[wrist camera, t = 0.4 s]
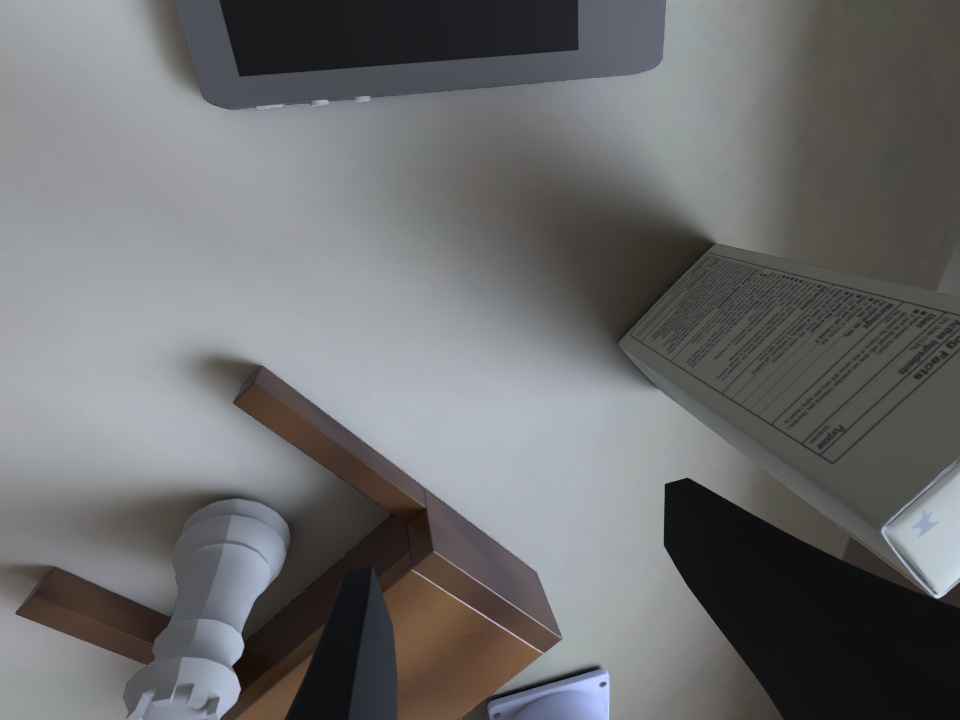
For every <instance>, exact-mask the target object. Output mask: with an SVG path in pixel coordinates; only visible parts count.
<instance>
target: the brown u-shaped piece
mask: <svg viewBox="0 0 960 720" xmlns="http://www.w3.org/2000/svg"><path fill="white" fill-rule="evenodd" d="M233 404H235V405H236V406H237V407H239V408H240V409H242V410H243V411H245V412H246V413H248V414H249V415H250V416H252V417H253V418H255V419H256V420H258V421H259V422H261V423H262V424H263V425H265V426H266V427H268V428H269V429H271V430H272V431H274V432H275V433H276V434H278V435H279V436H281V437H282V438H284V439H285V440H287V441H288V442H289V443H291V444H292V445H294V446H295V447H297V448H298V449H300V450H301V451H302V452H304V453H305V454H307V455H308V456H310V457H311V458H313V459H314V460H315V461H317V462H318V463H320V464H321V465H323V466H324V467H326V468H327V469H328V470H330V471H331V472H333V473H334V474H336V475H337V476H339V477H340V478H341V479H343V480H344V481H346V482H347V483H349V484H350V485H352V486H353V487H355V488H356V489H357V490H359V491H360V492H362V493H363V494H365V495H366V496H368V497H369V498H370V499H372V500H373V501H375V502H376V503H378V504H379V505H381V506H382V507H383V508H385V509H386V510H388V511H389V512H391V513H392V515H391V516H390V517H389V518H388V519H386V520H385V521H384V522H383V523H382V524H381V525H379V526H378V527H377V528H376V529H375V530H374V531H373V532H371V533H370V534H369V535H368V536H367V537H366V538H365V539H363V540H362V541H361V542H360V543H359V544H358V545H357V546H355V547H354V548H353V549H352V550H351V551H350V552H349V553H347V554H346V555H345V556H344V557H343V558H342V559H341V560H339V561H338V562H337V563H336V564H335V565H334V566H333V567H331V568H330V569H329V570H328V571H327V572H326V573H325V574H323V575H322V576H321V577H320V578H319V579H318V580H317V581H315V582H314V583H313V584H312V585H311V586H310V587H309V588H307V589H306V590H305V591H304V592H303V593H302V594H300V595H299V596H298V597H297V598H296V599H295V600H294V601H292V602H291V603H290V604H289V605H288V606H287V607H286V608H284V609H283V610H282V611H281V612H280V613H279V614H278V615H276V616H275V617H274V618H273V619H272V620H271V621H270V622H268V623H267V624H266V625H265V626H264V627H263V628H262V629H260V630H259V631H258V632H257V633H256V634H255V635H254V636H252V637H251V638H250V639H249V640H248V641H247V642H246V643H244V649H243V652H242V655H241V657H240V658H239V659H238V660H237V661H236V662H235V663H234V664H233V665H232V668H233V670H234V672H235V673H236V675H237V678H238V681H239V684H240V687H241V690H240V693H239V696H238V699H237V702H236V703H235V704H234V705H233V706H232V707H231V708H230V709H229V710H228V711H227V712H226V713H225V714H224V715H223V716H221V718H220V720H284V719H285V717H286V715H287V713H288V710H289V708H290V706H291V704H292V702H293V700H294V697H295V695H296V693H297V691H298V689H299V687H300V685H301V682H302V680H303V678H304V676H305V673H306V671H307V669H308V666H309V664H310V661H311V659H312V656H313V654H314V652H315V649H316V647H317V644H318V642H319V639H320V637H321V634H322V632H323V629H324V627H325V624H326V621H327V619H328V616H329V613H330V610H331V608H332V605H333V602H334V599H335V596H336V593H337V590H338V587H339V584H340V581H341V577H342V576H343V574H344V573H345V572H347V571H351V570H354V569H358V568H361V567H365V566H369V565H373V568H374V571H375V574H376V577H377V580H378V583H379V586H380V589H381V592H382V594H383V597H384V600H385V603H386V606H387V609H388V612H389V615H390V618H391V621H392V624H393V631H394V641H395V651H396V663H397V720H459V719H460V718H462V717H463V716H464V715H465V714H467V713H468V712H469V711H471V710H472V709H473V708H474V707H476V706H477V705H478V704H479V703H481V702H482V701H483V700H485V699H486V698H487V697H488V696H490V695H491V694H492V693H494V692H495V691H496V690H497V689H499V688H500V687H501V686H502V685H504V684H505V683H506V682H508V681H509V680H510V679H511V678H513V677H514V676H515V675H517V674H518V673H519V672H520V671H522V670H523V669H524V668H526V667H527V666H528V665H529V664H531V663H532V662H533V661H534V660H536V659H537V658H538V657H540V656H541V655H542V654H543V653H545V652H546V651H547V650H549V649H550V648H551V647H553V646H554V645H555V644H556V643H558V642H559V641H560V640H562V636H561V633H560V630H559V628H558V625H557V623H556V620H555V618H554V615H553V613H552V610H551V608H550V605H549V603H548V600H547V597H546V595H545V592H544V590H543V587H542V585H541V582H540V580H539V577H538V575H537V572H535V571H534V570H533V569H531V568H530V567H529V566H527V565H526V564H525V563H523V562H522V561H521V560H519V559H518V558H517V557H516V556H514V555H513V554H512V553H510V552H509V551H508V550H506V549H505V548H504V547H502V546H501V545H500V544H498V543H497V542H496V541H494V540H493V539H492V538H490V537H489V536H488V535H486V534H485V533H484V532H482V531H481V530H480V529H478V528H477V527H476V526H474V525H473V524H472V523H470V522H469V521H468V520H466V519H465V518H464V517H462V516H461V515H460V514H458V513H457V512H456V511H455V510H453V509H452V508H451V507H449V506H448V505H447V504H445V503H444V502H443V501H441V500H440V499H439V498H437V497H436V496H435V495H433V494H432V493H431V492H429V491H428V490H427V489H425V488H424V487H423V486H421V485H420V484H419V483H418V482H416V481H415V480H414V479H412V478H411V477H410V476H408V475H407V474H406V473H404V472H403V471H402V470H400V469H399V468H398V467H396V466H395V465H394V464H392V463H391V462H390V461H388V460H387V459H386V458H384V457H383V456H382V455H380V454H379V453H378V452H376V451H375V450H374V449H372V448H371V447H370V446H368V445H367V444H366V443H364V442H363V441H362V440H360V439H359V438H358V437H357V436H355V435H354V434H353V433H351V432H350V431H349V430H347V429H346V428H345V427H343V426H342V425H341V424H339V423H338V422H337V421H335V420H334V419H333V418H331V417H330V416H329V415H327V414H326V413H325V412H323V411H322V410H321V409H319V408H318V407H317V406H315V405H314V404H313V403H311V402H310V401H309V400H307V399H306V398H305V397H303V396H302V395H301V394H299V393H298V392H297V391H296V390H294V389H293V388H292V387H290V386H289V385H288V384H286V383H285V382H284V381H282V380H281V379H280V378H278V377H277V376H276V375H274V374H273V373H272V372H270V371H269V370H268V369H266V368H265V367H264V366H262V367H260V368H259V369H258V370H257V371H256V372H255V373H254V374H253V375H252V376H251V377H250V378H249V379H248V380H247V381H246V382H245V383H244V384H243V385H242V387H241V388H240V390H239V392H238V394H237V396H236V397H235V399H234V401H233ZM15 614H16V615H19V616H22V617H24V618H27V619H29V620H32V621H34V622H37V623H40V624H42V625H45V626H47V627H50V628H53V629H55V630H58V631H60V632H63V633H65V634H68V635H71V636H73V637H76V638H78V639H81V640H84V641H86V642H89V643H91V644H94V645H96V646H99V647H102V648H104V649H107V650H109V651H112V652H115V653H117V654H120V655H122V656H125V657H127V658H130V659H133V660H135V661H138V662H140V663H143V664H146V665H148V664H150V663H151V662H153V661H154V660H155V657H154V654H153V652H152V649H153V645H154V641H155V639H156V638H157V637H158V636H159V635H160V633H161V632H162V631H163V630H164V629H166V628H167V627H168V625H169V622H170V620H171V618H169V617H167V616H165V615H162V614H160V613H158V612H156V611H153V610H151V609H149V608H147V607H144V606H142V605H140V604H138V603H135V602H133V601H131V600H129V599H126V598H124V597H122V596H119V595H117V594H115V593H113V592H110V591H108V590H106V589H104V588H101V587H99V586H97V585H95V584H92V583H90V582H88V581H85V580H83V579H81V578H79V577H76V576H74V575H72V574H70V573H67V572H65V571H63V570H61V569H58V568H54V569H52V570H51V571H50V572H49V573H48V574H47V575H46V576H45V577H44V578H43V579H42V580H41V581H40V582H39V583H38V584H37V585H36V587H35V588H34V589H33V591H32V592H31V593H30V594H29V596H28V597H27V598H26V600H25V601H24V602H23V603H22V605H21V606H20V607H19V609H18V610H17V611H16V613H15Z"/></svg>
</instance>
